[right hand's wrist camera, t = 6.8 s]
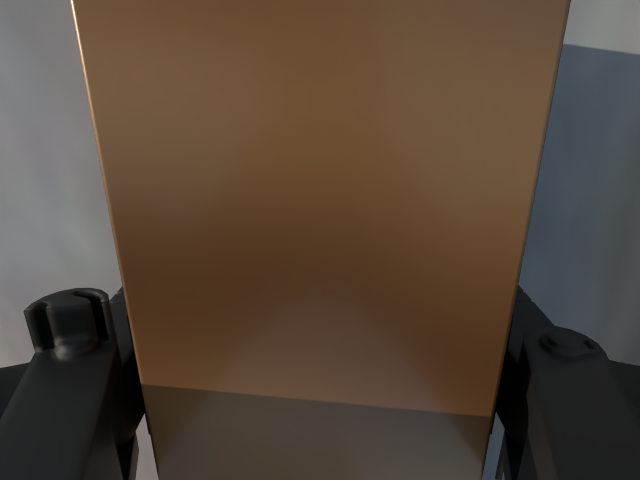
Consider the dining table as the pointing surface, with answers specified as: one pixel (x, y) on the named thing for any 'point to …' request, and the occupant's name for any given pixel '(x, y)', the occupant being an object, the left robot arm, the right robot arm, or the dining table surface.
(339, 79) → the beam
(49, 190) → the dining table surface
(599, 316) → the dining table surface
